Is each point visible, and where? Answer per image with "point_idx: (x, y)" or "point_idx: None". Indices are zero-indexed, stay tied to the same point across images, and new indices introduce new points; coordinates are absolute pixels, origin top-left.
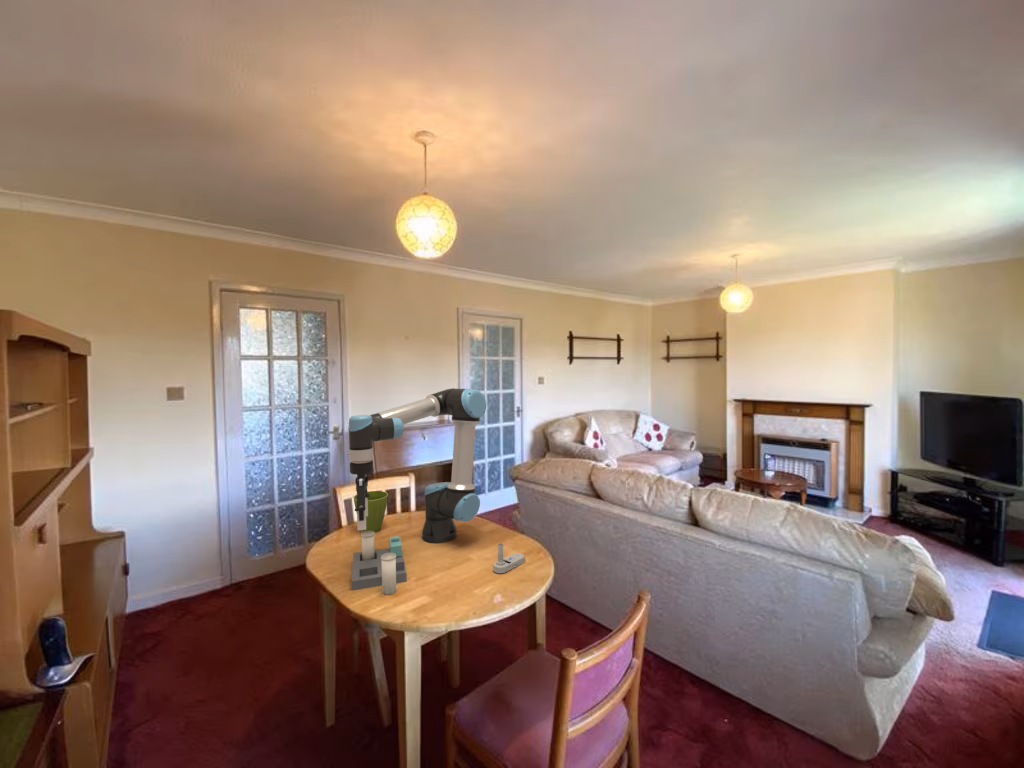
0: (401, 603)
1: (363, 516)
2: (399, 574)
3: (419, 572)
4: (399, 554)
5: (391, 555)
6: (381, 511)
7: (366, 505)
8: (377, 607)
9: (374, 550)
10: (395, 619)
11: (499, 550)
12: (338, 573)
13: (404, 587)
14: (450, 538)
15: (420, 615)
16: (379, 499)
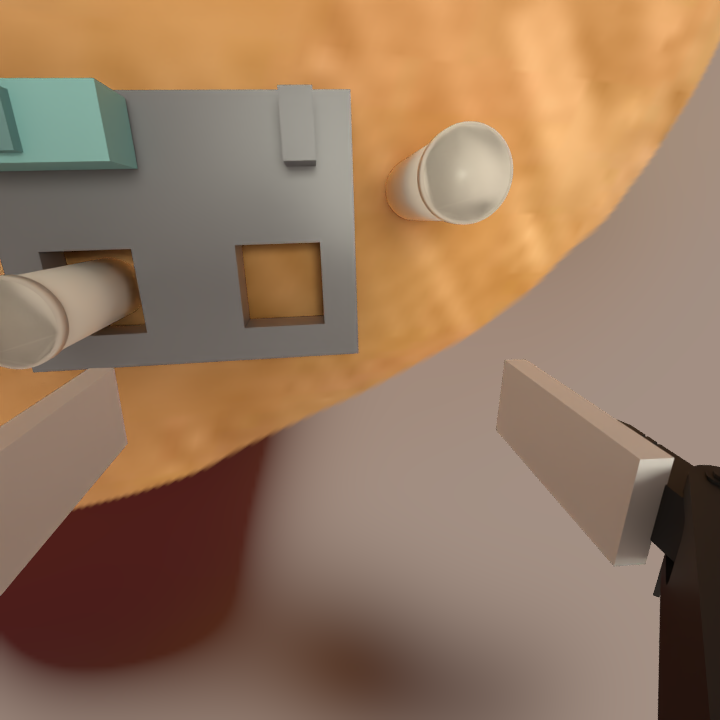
0: (532, 141)
1: (653, 442)
2: (350, 130)
3: (264, 17)
4: (123, 111)
5: (472, 153)
6: None
7: (40, 439)
8: (521, 239)
9: (73, 264)
10: (630, 172)
11: None
12: (187, 406)
13: (402, 117)
14: None
15: (652, 67)
16: None
